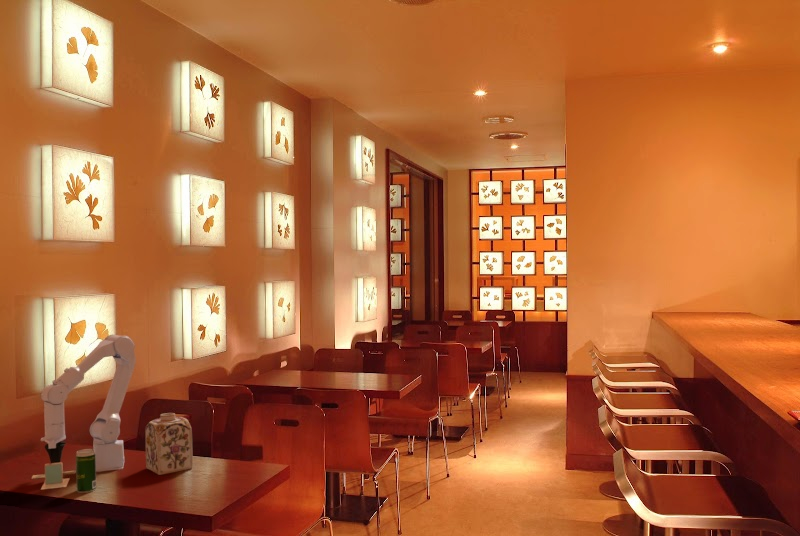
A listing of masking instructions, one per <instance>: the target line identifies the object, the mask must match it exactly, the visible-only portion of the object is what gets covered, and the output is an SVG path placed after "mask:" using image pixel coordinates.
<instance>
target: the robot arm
mask: <svg viewBox="0 0 800 536" xmlns="http://www.w3.org/2000/svg"><path fill="white" fill-rule="evenodd" d="M135 348H136V344H135V343H134V341H133V339H132V338H131V337H130V336H128V335H117V334H109V335H107V336H106V337H105V338H104V339H103V340H101V341H100V342H99V343H98V344H97V345H96V347H95V348H94V349H92V350H91V352H90V353H89V354H88V355H86V357H85V358H84V359H83V360H82V361H81V362H79V364H77V366H70V367H69V368H67V367H66V368H65V369H64V370H63V373H62V374H61V375H60V376H59V377H57V379H53V380H52V382H51V383H52V384H49V385H46V386H45V387H44V388H43V389H42V392H41V394H40V399H41V400H42V401H43V403H44V404H43V406H44V409H43V412H44V413H43V414H44V415H43V417H44V437H41V438H40V442H45V443H46V444H45V445H44V450H46V452H47V454H48V457H49V460H50V463H59V462H62V455H63V450H64V448H65V445H66V441H64V440H66V438H67V436H66V423H65V422H66V421H65V420H66V418H65V417H66V416H65V401H66V400H67V399H68V397H69V396H68V394H69V393H71V392H72V391H73V390H74V389H75V388H76V387H78V385H79V384H81V382H83V381H84V379H85V374H86V373H87V372H89V371H90V370H91V369H92V368H94V366H96V365H97V364H98V363H99V362H101V360H103V359H104V358H108V357H112V358H113V359H114V361H115V363H116V364H117V366H116V369H115V372H114V374H113V377H112V381H111V384H110V386H109V389H108V392H107V395H106V398H105V401H104V404H103V406H102V409H101V410H100V412H99V413H98V414H97V415H96V418H95V420H94V421H93V422H92V423H91V425H90V427H89V433H90V435H91V437H92V438H93V444H92V445H93V448H92V449H94V450H95V454H96V473H99V472H108V471H117V470H123V469H124V466H125V462H126V461H125V458H126V457H125V453H124V452H125V451H124V450H125V449H124V440H123V439H120V440H119V439H118V438H119V436H120V434H121V429H120V426H121V421H122V420H121V417H120V412H121V409H122V406H123V403H124V399H125V396H126V394H127V391H128V387H129V384H130V382H131V379H132V375H133V373H134V370H135V367H136V364H137V360H136V354H135Z"/></svg>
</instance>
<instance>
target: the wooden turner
mask: <svg viewBox="0 0 800 536" xmlns="http://www.w3.org/2000/svg"><path fill="white" fill-rule="evenodd" d="M67 475H68V476H69V475H76V470H70V471H69V470H68V471H67V470H66V471H63V476H67ZM38 479H45V473H44V474H43V473H42V474H36V475H35V474H33V475H32V476H31V479H30V480H38Z"/></svg>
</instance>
